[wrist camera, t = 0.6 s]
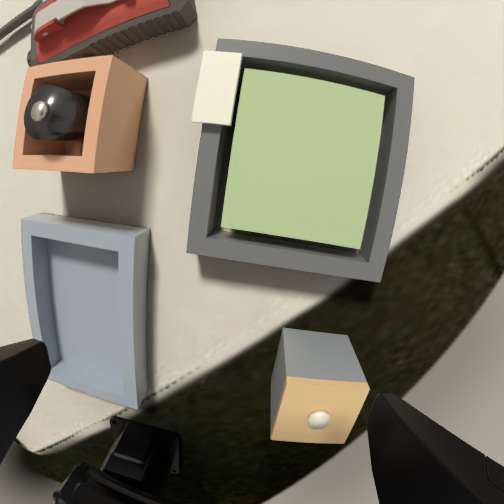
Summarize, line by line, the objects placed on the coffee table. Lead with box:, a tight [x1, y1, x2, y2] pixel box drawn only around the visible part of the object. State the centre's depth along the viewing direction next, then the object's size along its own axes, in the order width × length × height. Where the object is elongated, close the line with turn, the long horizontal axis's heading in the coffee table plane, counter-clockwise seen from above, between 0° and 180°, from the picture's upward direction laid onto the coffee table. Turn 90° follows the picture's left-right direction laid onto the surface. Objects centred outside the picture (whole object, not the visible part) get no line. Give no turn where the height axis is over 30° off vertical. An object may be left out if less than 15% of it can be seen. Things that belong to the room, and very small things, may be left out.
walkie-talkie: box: [0, 0, 197, 67], centre depth 14 cm, size 9×4×20 cm
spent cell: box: [24, 85, 91, 142], centre depth 14 cm, size 3×3×6 cm
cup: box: [13, 55, 148, 173], centre depth 15 cm, size 6×6×5 cm
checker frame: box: [187, 39, 414, 282], centre depth 17 cm, size 12×12×3 cm
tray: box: [21, 213, 150, 410], centre depth 20 cm, size 13×9×2 cm
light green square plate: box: [221, 68, 385, 249], centre depth 16 cm, size 9×8×1 cm
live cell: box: [271, 328, 370, 444], centre depth 18 cm, size 4×4×6 cm
